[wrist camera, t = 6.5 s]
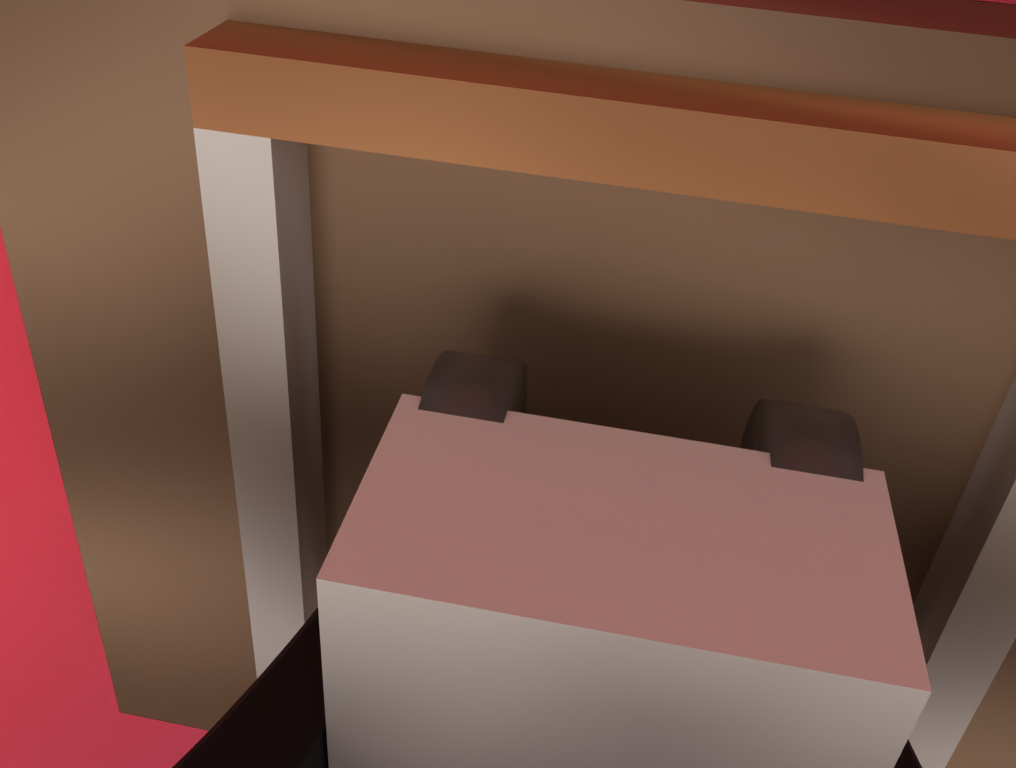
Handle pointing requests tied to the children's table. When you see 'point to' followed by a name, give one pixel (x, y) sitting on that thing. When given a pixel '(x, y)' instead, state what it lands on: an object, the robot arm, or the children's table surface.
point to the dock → (505, 279)
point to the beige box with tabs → (614, 593)
